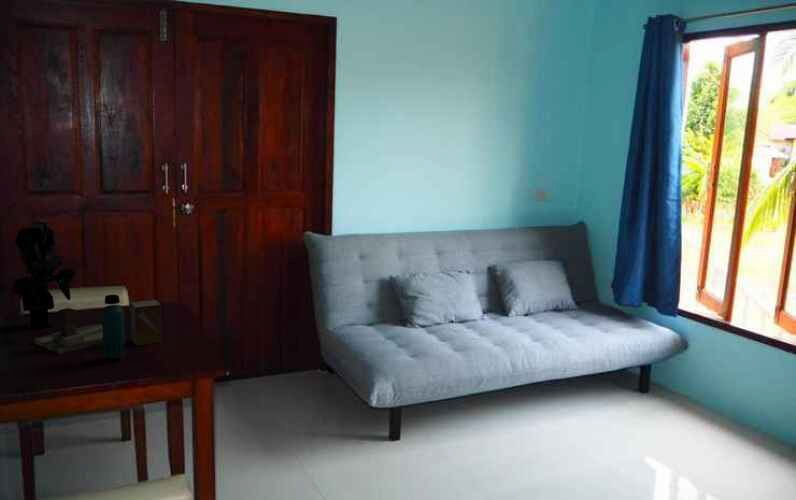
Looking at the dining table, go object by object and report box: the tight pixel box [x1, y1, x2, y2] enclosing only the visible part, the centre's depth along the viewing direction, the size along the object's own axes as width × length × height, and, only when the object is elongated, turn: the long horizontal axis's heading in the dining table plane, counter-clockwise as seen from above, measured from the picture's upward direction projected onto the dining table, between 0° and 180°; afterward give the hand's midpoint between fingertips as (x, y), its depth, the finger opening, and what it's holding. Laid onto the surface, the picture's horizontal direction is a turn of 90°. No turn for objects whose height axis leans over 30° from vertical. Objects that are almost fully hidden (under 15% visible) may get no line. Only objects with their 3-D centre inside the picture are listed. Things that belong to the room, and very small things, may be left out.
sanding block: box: [51, 307, 85, 348], centre depth 217 cm, size 8×6×11 cm
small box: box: [130, 299, 162, 347], centre depth 226 cm, size 8×6×13 cm
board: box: [33, 323, 103, 355], centre depth 226 cm, size 15×22×2 cm
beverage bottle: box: [100, 294, 127, 359], centre depth 208 cm, size 6×7×20 cm
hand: (55, 302), depth 220 cm, fingers open, 9 cm apart
